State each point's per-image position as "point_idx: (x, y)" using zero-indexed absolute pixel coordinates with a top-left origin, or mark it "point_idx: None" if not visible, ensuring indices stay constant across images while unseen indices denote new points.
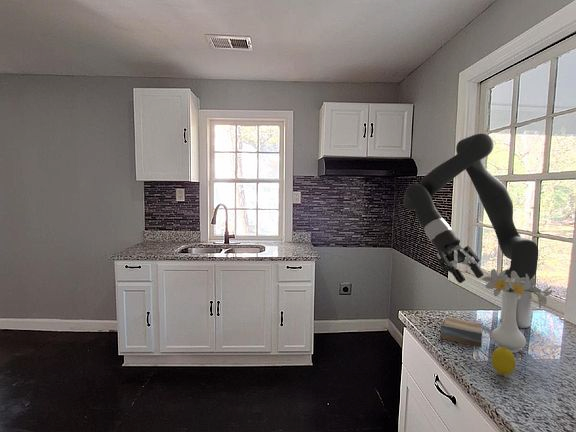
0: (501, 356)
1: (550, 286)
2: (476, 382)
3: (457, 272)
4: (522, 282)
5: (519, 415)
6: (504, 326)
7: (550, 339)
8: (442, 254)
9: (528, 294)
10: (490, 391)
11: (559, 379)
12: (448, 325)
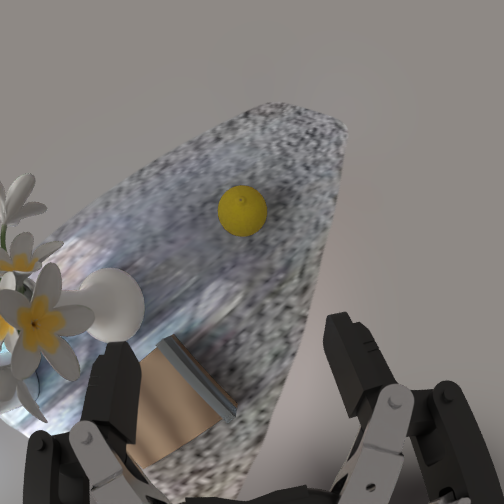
0: (261, 196)
1: None
2: (319, 217)
3: (373, 369)
4: None
5: (323, 133)
6: (108, 306)
7: None
8: (490, 496)
9: (17, 242)
10: (317, 188)
11: (149, 180)
12: (175, 436)
